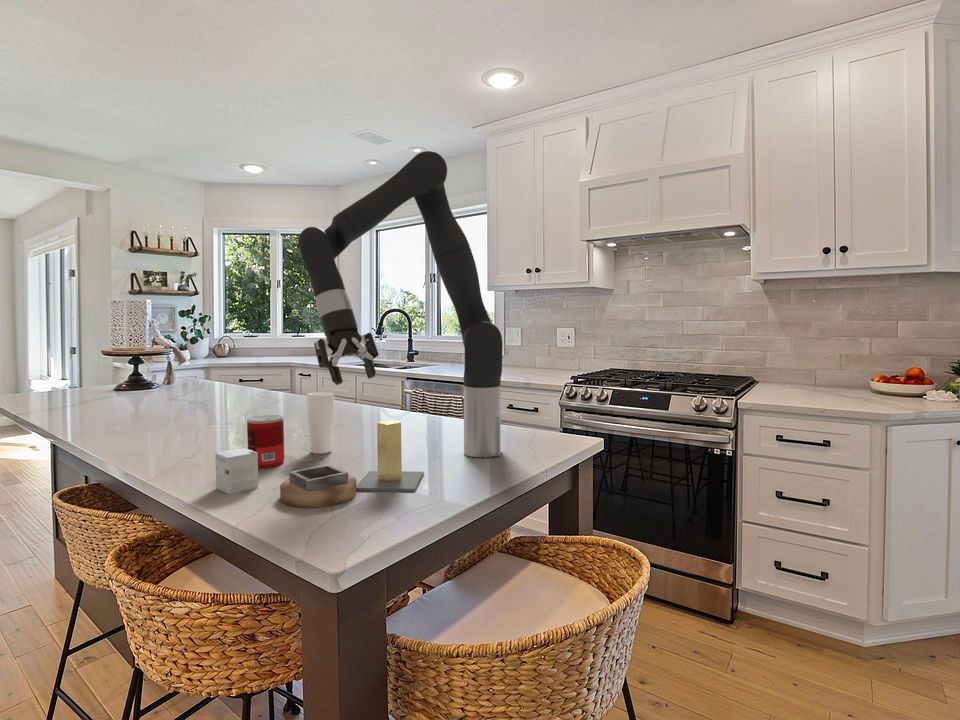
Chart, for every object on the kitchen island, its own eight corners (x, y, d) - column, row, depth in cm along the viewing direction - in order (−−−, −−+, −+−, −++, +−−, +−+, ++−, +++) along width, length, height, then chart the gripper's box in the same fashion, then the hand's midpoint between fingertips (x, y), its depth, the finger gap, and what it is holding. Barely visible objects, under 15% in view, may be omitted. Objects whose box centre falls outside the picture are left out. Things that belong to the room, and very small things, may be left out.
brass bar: (392, 476, 116) (391, 420, 115) (401, 479, 113) (401, 422, 112) (377, 479, 113) (377, 422, 112) (387, 483, 111) (386, 424, 110)
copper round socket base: (335, 480, 115) (334, 459, 114) (370, 496, 104) (369, 472, 104) (268, 494, 105) (267, 471, 105) (299, 513, 95) (299, 488, 95)
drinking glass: (339, 449, 142) (338, 392, 141) (329, 455, 135) (328, 395, 134) (314, 448, 143) (312, 391, 142) (303, 455, 136) (301, 395, 135)
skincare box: (215, 488, 109) (214, 452, 109) (245, 481, 114) (244, 447, 113) (229, 494, 105) (228, 457, 105) (259, 487, 110) (258, 451, 109)
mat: (423, 474, 119) (423, 471, 119) (414, 491, 107) (414, 488, 107) (369, 473, 119) (369, 471, 119) (354, 490, 107) (354, 487, 107)
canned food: (291, 461, 130) (290, 415, 129) (268, 470, 123) (266, 421, 122) (265, 458, 133) (263, 413, 132) (240, 467, 125) (239, 419, 124)
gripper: (315, 309, 117) (336, 381, 115) (370, 305, 127) (390, 371, 125) (300, 321, 122) (320, 390, 120) (354, 316, 132) (373, 379, 130)
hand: (356, 380), depth 123 cm, fingers open, 8 cm apart
